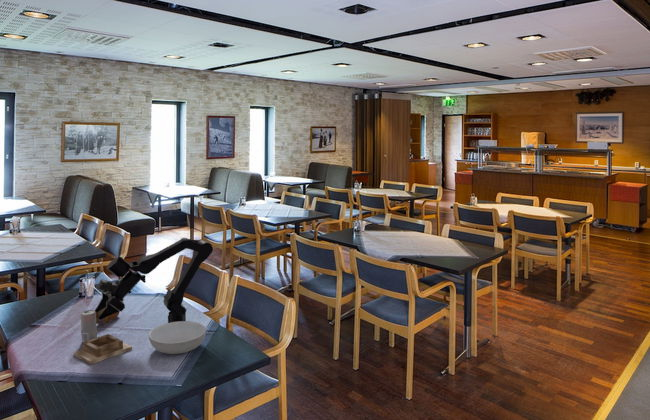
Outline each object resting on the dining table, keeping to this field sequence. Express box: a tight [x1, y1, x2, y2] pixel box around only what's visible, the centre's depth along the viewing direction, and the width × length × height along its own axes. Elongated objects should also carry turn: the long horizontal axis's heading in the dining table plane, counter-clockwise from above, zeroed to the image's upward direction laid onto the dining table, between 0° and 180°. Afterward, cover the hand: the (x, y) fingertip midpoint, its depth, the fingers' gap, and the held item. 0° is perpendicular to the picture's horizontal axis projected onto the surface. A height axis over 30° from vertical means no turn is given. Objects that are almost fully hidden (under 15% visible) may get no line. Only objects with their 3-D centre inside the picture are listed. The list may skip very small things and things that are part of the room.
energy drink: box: [80, 309, 98, 344], centre depth 190 cm, size 5×5×12 cm
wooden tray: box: [73, 333, 133, 365], centre depth 181 cm, size 16×12×4 cm
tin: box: [94, 308, 120, 326], centre depth 212 cm, size 15×3×8 cm, turn 168°
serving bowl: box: [148, 320, 207, 355], centre depth 186 cm, size 21×21×7 cm
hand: (97, 315), depth 191 cm, fingers open, 9 cm apart
